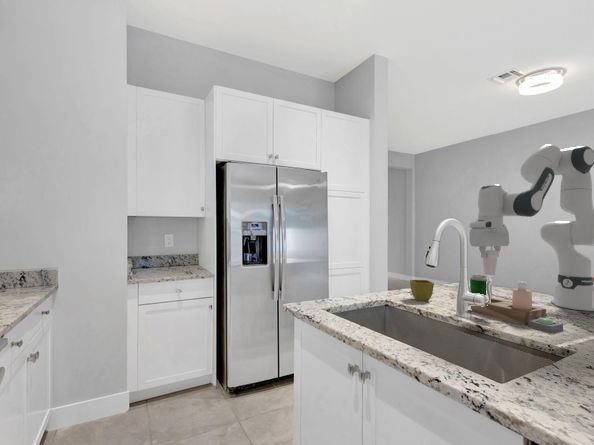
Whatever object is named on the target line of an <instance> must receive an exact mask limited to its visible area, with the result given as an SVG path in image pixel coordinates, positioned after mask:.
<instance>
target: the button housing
mask: <svg viewBox="0 0 594 445" xmlns="http://www.w3.org/2000/svg"><path fill="white" fill-rule="evenodd" d="M527 326H528V327H529V328H532V329H536V330H539V331H543V332H547V333H556V332H562V331H564V323H559V322H556V321H553V324H552V325H547V324H543V323H539V322H538V319H535V320H530V321H529V324H528V325H527Z"/></svg>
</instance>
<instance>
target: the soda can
mask: <svg viewBox="0 0 594 445" xmlns="http://www.w3.org/2000/svg"><path fill="white" fill-rule="evenodd" d="M487 278H488V276H485V275H480V274H476V275H475V274H473V275H472V276H470V280H469V283H470V285H469V288H470V289H469V292H472V293H480V294H484V295H486V281H487Z"/></svg>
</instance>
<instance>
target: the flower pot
mask: <svg viewBox="0 0 594 445" xmlns="http://www.w3.org/2000/svg"><path fill="white" fill-rule="evenodd" d="M409 284H410V291H411V295H412V296H413V298H414V299H415V300H417V301H419V302H422V301H424V302H428V301H429V300H431V298H432V295H433V292H434V286H435V283H434V282H432V281H430V280H428V279H409Z"/></svg>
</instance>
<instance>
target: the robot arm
mask: <svg viewBox="0 0 594 445" xmlns="http://www.w3.org/2000/svg"><path fill="white" fill-rule="evenodd" d="M593 166H594V150H593V148H591V147H590V146H586V145H585V146H584V145H579V146H576V147H569V148H564V149H560V147H558V145H555V144H544V145H542V146H540V147H538V148H537V149H536V150H534V152H532V153H531V154H530V156H528V157H527V159H526V160H525V161H524V162H523V163H522V165H521V167H520V175H521V177H522V179H523V180H525V181H526V182H528V183H530V184H532V185H531V186H530V189H527V190H524V191H517V192H508V191H506V190H505V189H503V187H502V185H501V184H499V183H495V184H489V185H484V186H482V187H481V188H480V189H479V192H478V198H477V199H478V201H477V207H478V214H477V219H476V220H474V221H471V222H470V223H469V228H470V229H469V230H470V231H469V245H470V246H471V247H478V250H479V252H480V258H482V259H483V258H487V257H488V256H487V255H488V253H486V250H487V247H491V246H492V247H493V250H495V251H499V254H500V251H501V249H502V247H508V246H510V235H509V234H510V233H509V230H508V228H507V226H506V225H505V224H504V217H528V218H530V217H531V218H532V217H534V216H536V215H537V214H538V213H539V212H540V211H541V209H542V206H543V202H544V199H545V198H546V196H547V194H548V192H549V191H550V188H551V186H552V184H553V182H554V179H555V176H561V182H560V191H559V192H560V193H559V195H560V196H559V198H560V199H559V207H560V209H561V210H563V211H564V212H566V213H569V214H571V215H573V216H574V217H575V220H557V221H549V222H546V223H544V224H542V226H541V228H540V237H541V239H542V240H543V241H544V242H545V243H546V244H548V245H550V247H551V248H552V249H553V250H554V251H555V254H556V256H557V260H558V274H557V282H558V283H557V284H556V285H555V286H554V289H553V290H554V291H553V299H552V300H551V299H550V303H551V304H553V305H555V306H557V307H561V308H565V309H570V310H576V311H577V310H578V311H589V312H594V277H593V276H592V261H591V259H590V258H589V257H588V256H587V255H586V254H583V253H581V252H579V251H577V250H576V248H575V246H589V247H591V246H592V247H594V205H593V181H592V175H591V169H592V168H593ZM499 254H498V258H499V257H500V256H499Z"/></svg>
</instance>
